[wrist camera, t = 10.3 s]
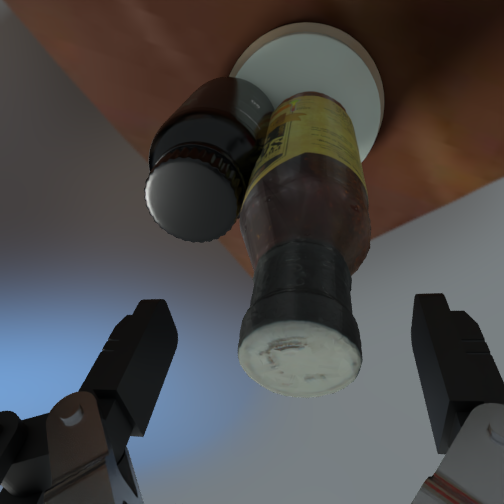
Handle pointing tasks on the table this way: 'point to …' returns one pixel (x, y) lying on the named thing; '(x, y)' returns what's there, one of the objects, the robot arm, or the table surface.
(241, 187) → the supplement bottle
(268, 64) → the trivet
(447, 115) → the table surface
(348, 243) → the sauce bottle
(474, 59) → the table surface
